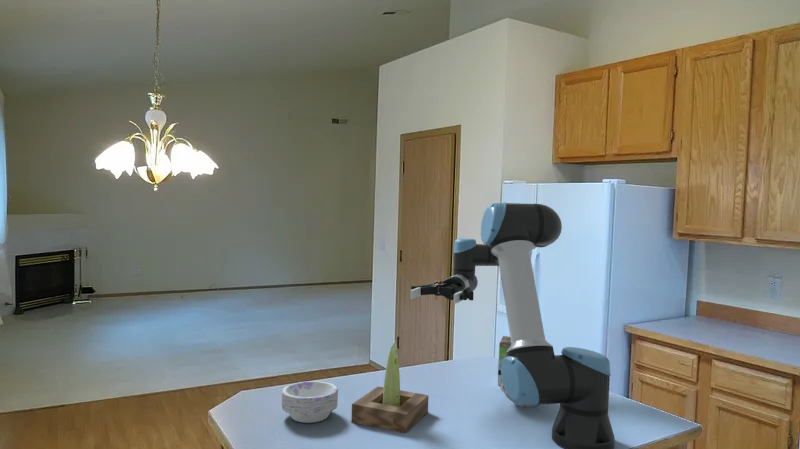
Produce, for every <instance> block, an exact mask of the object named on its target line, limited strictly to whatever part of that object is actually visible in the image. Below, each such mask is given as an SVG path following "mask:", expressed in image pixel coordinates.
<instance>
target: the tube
mask: <svg viewBox="0 0 800 449" xmlns="http://www.w3.org/2000/svg"><path fill="white" fill-rule="evenodd" d="M400 376H401V375H400V363H399V354H398V347H397V341H396V340H394V341H393V344H392V345H391V346H390V350H389V351H388V355H387V360H386V366H385V373H384V380H383V387H384V391H383V404H385V405H391V406H396V407H400V390H401V379H400Z"/></svg>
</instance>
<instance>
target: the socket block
mask: <svg viewBox="0 0 800 449" xmlns="http://www.w3.org/2000/svg"><path fill="white" fill-rule="evenodd" d="M383 391H384V386H376V387H375V388H373V389H372V390H370V391H369V392H368V393H367V392H366V394H365V395H363V396H361V397H360V398H358V399H357V400H356V401H354V402H353V403H351V423H353V424H359V425H364V426H369V427H373V428H378V429H383V430H388V431H393V432H398V433H403V434H407V433H408V432H409V431H410V430H411V429H412V428H413V427H414V426H416V424H418V423H419V422H420V421H421V419H423V418H424V417H425V416H426V415H428V413H429V395H428V394H424V393H417V392H413V391H405V390H402V389H400V407H396V406H391V405H385V404H383Z"/></svg>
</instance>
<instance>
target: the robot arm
mask: <svg viewBox="0 0 800 449" xmlns="http://www.w3.org/2000/svg"><path fill="white" fill-rule="evenodd" d="M482 215H483V216H482V219H481V223H480V239H481V241H482V244H481V243H477V241H476V239H475V238H465V237H463V238H456V239H455V241H454V244H453V252H452V253H453V271H452V272H453V274H452V276H449V277H447V278H445V279H444V280H443V281H442V282H441V283H440V284H434V283H429V284H422V285H412V286H411V287H410V295H409V298H410V300H414V299H417V298H419V297H421V296H428V295H430V296H431V295H432V296H433V295H434V296H436V297H439V296H440V297H441V296H442V297H444V298H445V299H447V300H449V301H452V302H453V304H455V305H456V304H458V303H460V302H462V301H467V300H469V301H474V291H475V290H476V289H477V287H478V285H479V284H478V282H479V280H478V278H477V276H476V267H499V274H500V280H501V286H502V291H503V292H502V293H503V298H504V306H505V310H506V311H505V312H506V318H507V323H508V324H507V325H508V331H509V337H510V338H511V346H510V348H509V349H508V350H507V357H506V358H504V359H503V361H502V364H501V368H502V370H501V377H502V382H503V385H504V388H505V391H506V393H507V395H508V396H509V397H510V399H511V400H512V401H513V402H514V404H515V403H516V405H517V404H518V406H520V405H530V406H535V405H539V406H541V405H554V404H556V405H557V404H559V410H558V412H557V415H556V418H555V420H554V422H553V425H552V427H551V428H552V429H551V440H552V441H553V442H554V443H555V444H556V445H558V446H559V447H561V448H563V449H615V440H616V439H615V434H614V431H613V428H612V422H611V420H610V417H609V416H610V415H609V403H610V402H609V401H610V378H611V365H610V360H609V359H608V357H607V356H606V355H604V354H602V353H599V352H596V351H594V350H590V349H586V348H581V347H574V346H565V347H563V348H562V349H561V354H559V355H557V354H556V355H555V351H554V346H553V345H552V344H551V343H550V342H549V341H548V340H546V335H545V330H544V326H543V325H544V324H543V319H542V313H541V308H540V303H539V296H538V292H537V286H536V280H535V275H534V270H533V264H532V259H531V254H530V253H532V251H533V250H534V249H536V248H545V247H548V246H550V245H552V244H553V243H555V242H556V241H557V240H558V239H559V237H560V236H561V233H562V229H563V226H562V221H561V220H562V219H561V218H560V216H559V214H558V213H557V212H556V211H555V210H554V209H553V208H552V207H550V206H548V205H546V204H542V203H520V202H519V203H515V202H510V203H509V202H505V201H504V202H502V203H501V202H498V203H497V202H496V203H495V202H494V203H491V204H489V205H488V206H487V207H486V208H485V211H484V213H483V214H482ZM511 400H510V401H511ZM512 401H511V402H512ZM513 402H512V403H513Z"/></svg>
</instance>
